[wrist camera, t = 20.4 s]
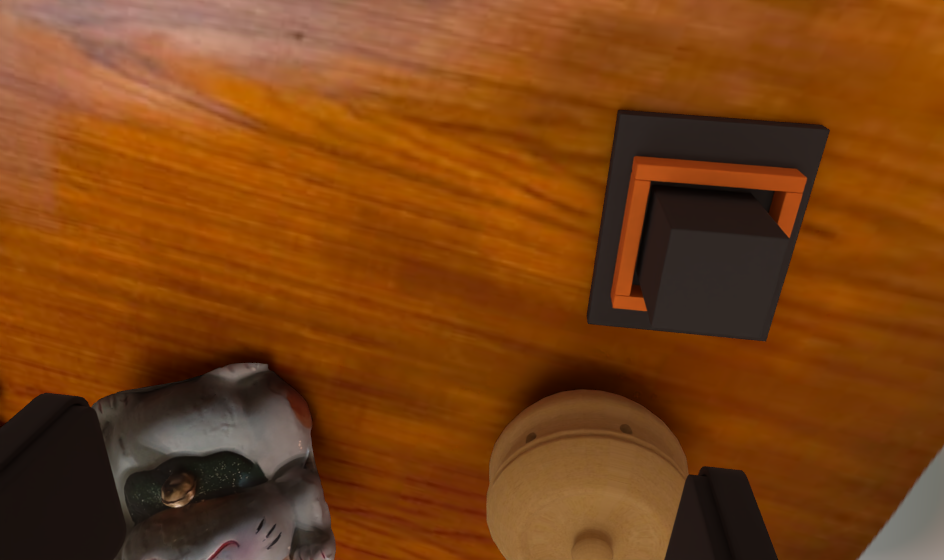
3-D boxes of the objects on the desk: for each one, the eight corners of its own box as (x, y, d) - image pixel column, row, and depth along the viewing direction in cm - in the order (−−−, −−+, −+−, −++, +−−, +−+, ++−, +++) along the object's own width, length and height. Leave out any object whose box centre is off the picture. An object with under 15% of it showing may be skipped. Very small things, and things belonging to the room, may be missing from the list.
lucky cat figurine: (314, 347, 41) (324, 578, 32) (336, 434, 50) (347, 632, 42) (58, 379, 39) (-6, 637, 30) (130, 464, 48) (97, 680, 39)
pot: (469, 472, 45) (449, 601, 36) (531, 335, 39) (526, 447, 30) (629, 525, 45) (648, 665, 36) (711, 398, 40) (757, 525, 31)
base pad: (618, 109, 33) (623, 120, 31) (822, 124, 32) (843, 137, 30) (586, 315, 38) (588, 338, 36) (761, 332, 38) (774, 356, 35)
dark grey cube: (651, 184, 33) (671, 228, 28) (751, 192, 33) (791, 238, 28) (635, 271, 36) (650, 328, 30) (729, 280, 35) (761, 338, 30)
